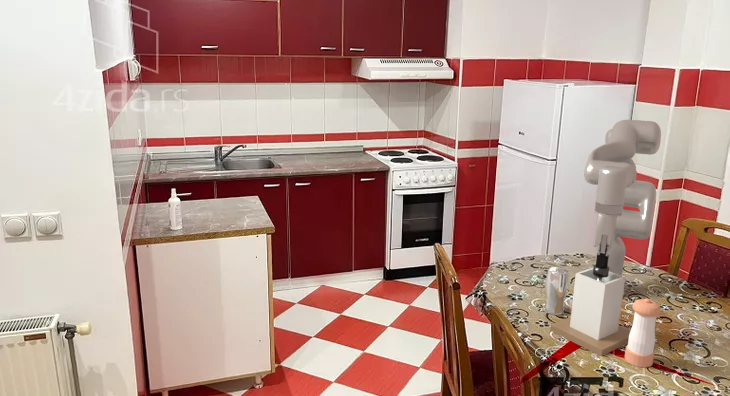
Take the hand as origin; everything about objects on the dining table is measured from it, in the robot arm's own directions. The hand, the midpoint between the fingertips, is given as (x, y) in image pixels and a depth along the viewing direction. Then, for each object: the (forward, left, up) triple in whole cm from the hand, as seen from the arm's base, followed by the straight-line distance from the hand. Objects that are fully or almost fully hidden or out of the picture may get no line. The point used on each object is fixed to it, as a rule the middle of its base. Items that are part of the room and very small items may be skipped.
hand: (601, 267), depth 166 cm
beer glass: (-3, -17, -23) cm, 29 cm away
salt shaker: (+2, +16, -23) cm, 28 cm away
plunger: (0, 0, -20) cm, 20 cm away
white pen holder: (0, 0, -23) cm, 23 cm away
